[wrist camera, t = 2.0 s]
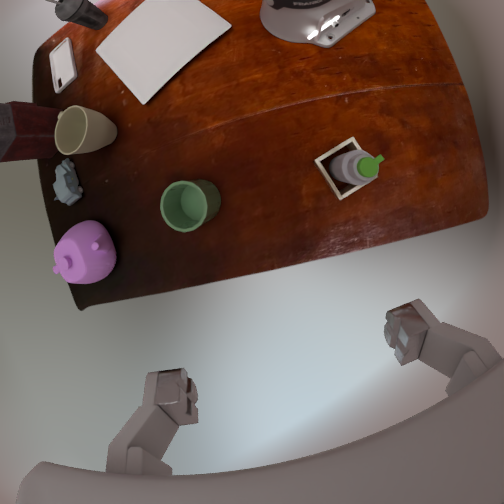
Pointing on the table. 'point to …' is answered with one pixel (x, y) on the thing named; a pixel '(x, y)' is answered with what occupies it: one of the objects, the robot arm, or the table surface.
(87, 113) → the mug
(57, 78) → the phone case
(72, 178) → the toy car
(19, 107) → the red grey decanter
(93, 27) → the beverage cup
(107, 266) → the teapot
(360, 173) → the bottle
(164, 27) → the plate
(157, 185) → the table surface
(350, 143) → the ivory holder
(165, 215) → the green cup
